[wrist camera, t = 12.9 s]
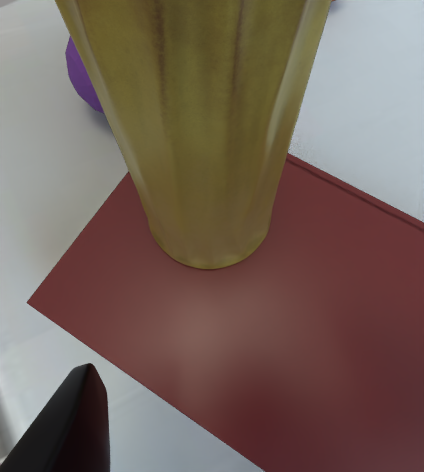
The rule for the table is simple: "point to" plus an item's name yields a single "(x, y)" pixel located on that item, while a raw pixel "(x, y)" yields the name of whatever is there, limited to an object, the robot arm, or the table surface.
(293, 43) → the vase
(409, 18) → the table surface
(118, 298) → the book
